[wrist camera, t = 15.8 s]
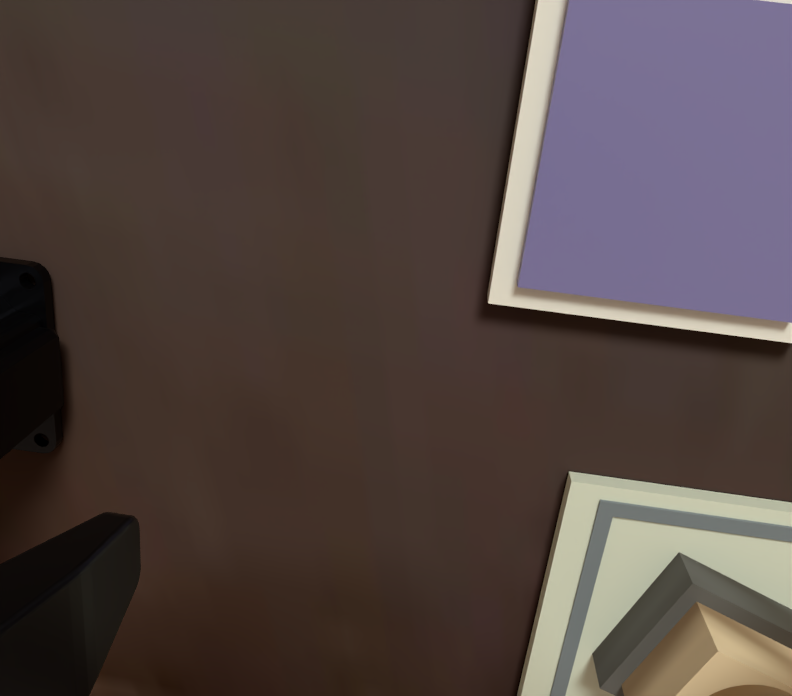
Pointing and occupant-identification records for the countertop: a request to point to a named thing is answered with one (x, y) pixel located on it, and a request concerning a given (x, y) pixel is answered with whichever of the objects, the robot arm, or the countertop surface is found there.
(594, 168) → the ink pad
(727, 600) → the hand stamp
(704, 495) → the marked board
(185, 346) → the countertop surface
